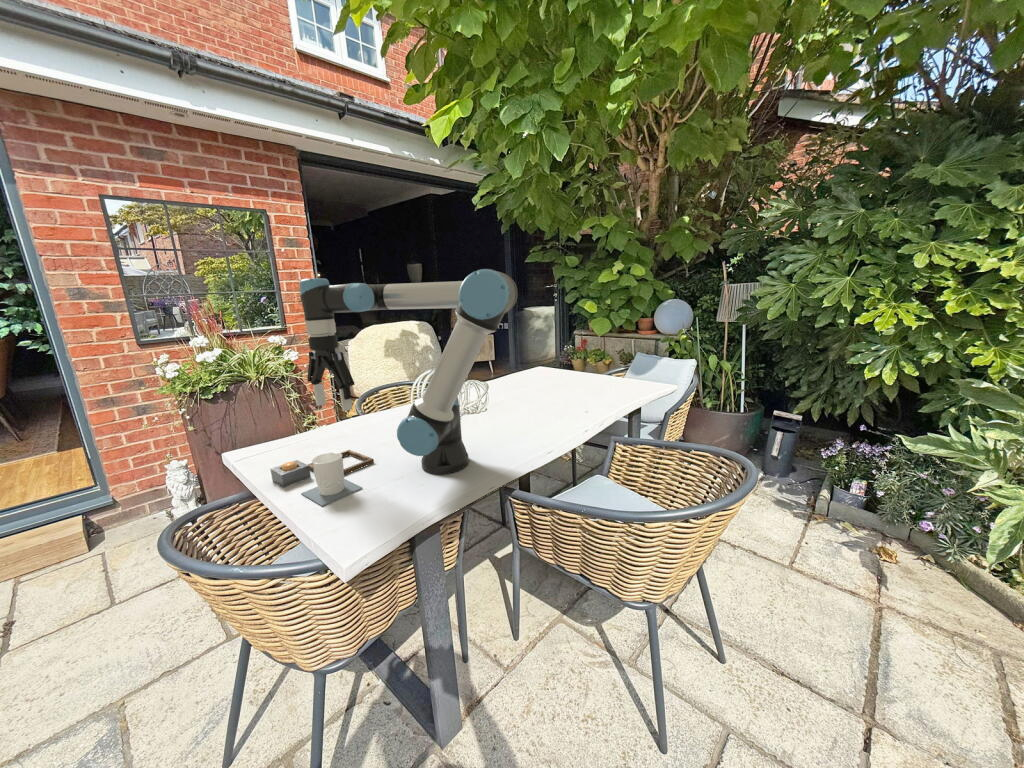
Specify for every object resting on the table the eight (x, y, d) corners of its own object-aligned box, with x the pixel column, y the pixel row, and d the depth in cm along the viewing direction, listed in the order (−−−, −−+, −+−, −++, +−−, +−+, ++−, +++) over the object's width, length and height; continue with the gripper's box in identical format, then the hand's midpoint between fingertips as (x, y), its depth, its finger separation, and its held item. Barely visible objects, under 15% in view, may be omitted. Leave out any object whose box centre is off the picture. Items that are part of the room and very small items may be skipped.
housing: (310, 477, 124) (308, 465, 123) (283, 487, 118) (281, 475, 117) (299, 471, 129) (297, 459, 128) (272, 480, 123) (270, 468, 122)
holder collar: (373, 463, 133) (373, 458, 132) (330, 480, 121) (330, 475, 121) (349, 453, 142) (349, 449, 141) (307, 468, 130) (306, 464, 130)
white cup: (328, 499, 109) (322, 465, 106) (311, 493, 113) (305, 460, 110) (352, 487, 115) (348, 455, 113) (335, 481, 119) (331, 450, 117)
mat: (362, 488, 115) (362, 487, 115) (322, 506, 106) (321, 505, 106) (341, 478, 122) (340, 477, 122) (301, 494, 113) (301, 493, 113)
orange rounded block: (300, 475, 123) (298, 463, 122) (287, 480, 120) (285, 468, 119) (294, 472, 126) (292, 460, 125) (281, 477, 123) (279, 464, 122)
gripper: (360, 333, 108) (371, 408, 113) (311, 333, 122) (322, 399, 127) (335, 337, 102) (347, 416, 107) (286, 336, 116) (299, 405, 121)
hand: (334, 407), depth 117 cm, fingers open, 13 cm apart
